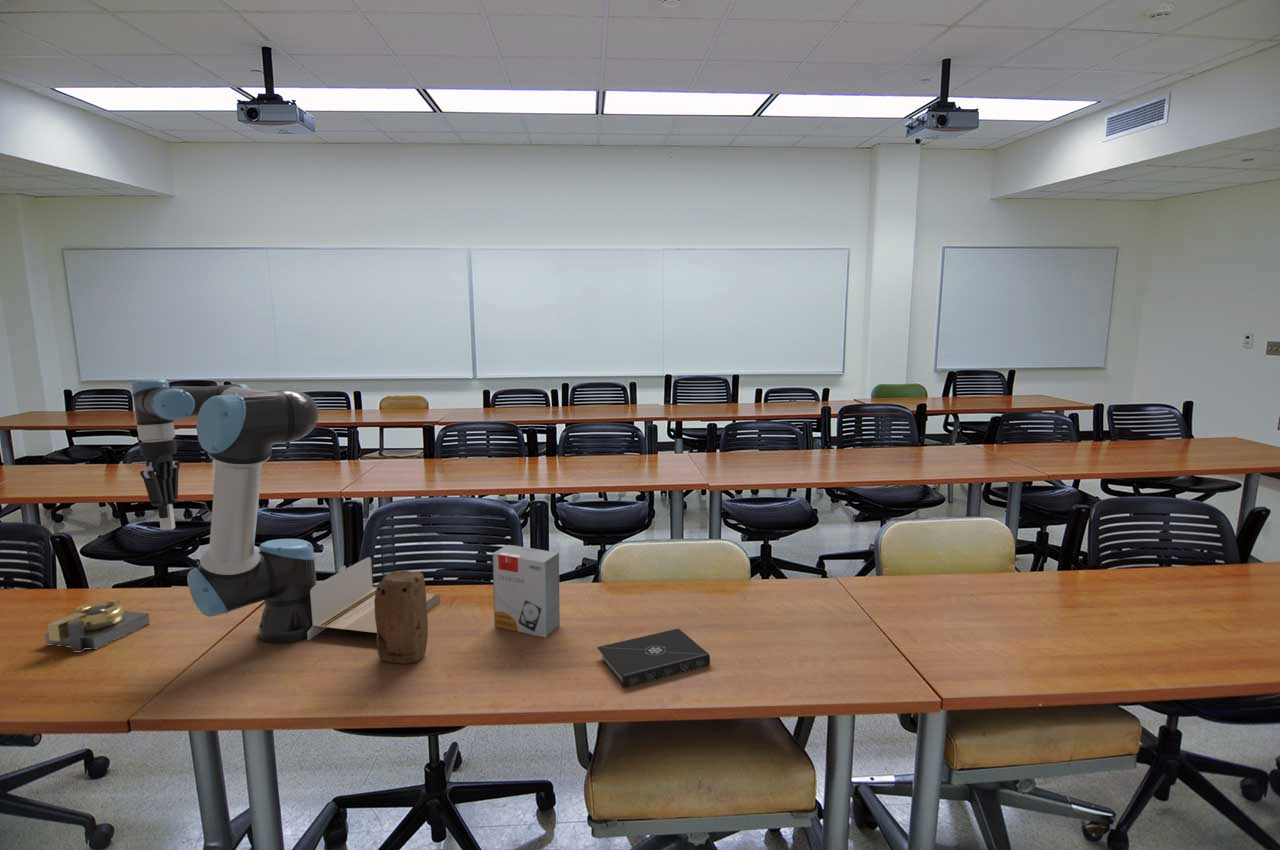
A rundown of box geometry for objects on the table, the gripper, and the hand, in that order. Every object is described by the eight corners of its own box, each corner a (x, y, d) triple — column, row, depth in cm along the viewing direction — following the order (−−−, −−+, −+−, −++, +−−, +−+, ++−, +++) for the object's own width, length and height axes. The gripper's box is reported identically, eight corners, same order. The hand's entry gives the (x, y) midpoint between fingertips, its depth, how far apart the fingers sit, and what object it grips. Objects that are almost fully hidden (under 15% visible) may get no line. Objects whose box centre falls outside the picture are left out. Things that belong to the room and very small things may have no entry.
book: (623, 690, 134) (623, 677, 134) (597, 659, 147) (597, 646, 147) (710, 667, 144) (710, 655, 143) (678, 639, 157) (678, 628, 156)
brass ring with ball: (102, 611, 164) (100, 596, 163) (134, 614, 162) (132, 599, 161) (37, 638, 149) (35, 622, 149) (72, 642, 147) (69, 626, 147)
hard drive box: (493, 627, 162) (490, 553, 159) (510, 615, 169) (507, 543, 166) (546, 638, 156) (544, 561, 153) (561, 625, 163) (559, 551, 160)
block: (432, 650, 151) (427, 569, 148) (419, 666, 143) (414, 582, 140) (387, 648, 151) (382, 568, 148) (372, 665, 144) (367, 581, 141)
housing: (149, 624, 164) (146, 598, 163) (85, 654, 149) (82, 626, 148) (104, 619, 167) (101, 594, 166) (37, 649, 151) (33, 621, 150)
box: (370, 658, 148) (366, 600, 146) (296, 648, 152) (291, 592, 150) (448, 598, 182) (445, 550, 180) (385, 591, 186) (382, 545, 184)
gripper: (157, 436, 169) (167, 522, 172) (124, 444, 156) (136, 537, 159) (187, 435, 170) (197, 521, 173) (157, 443, 157) (168, 535, 160)
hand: (168, 528), depth 166 cm, fingers closed
